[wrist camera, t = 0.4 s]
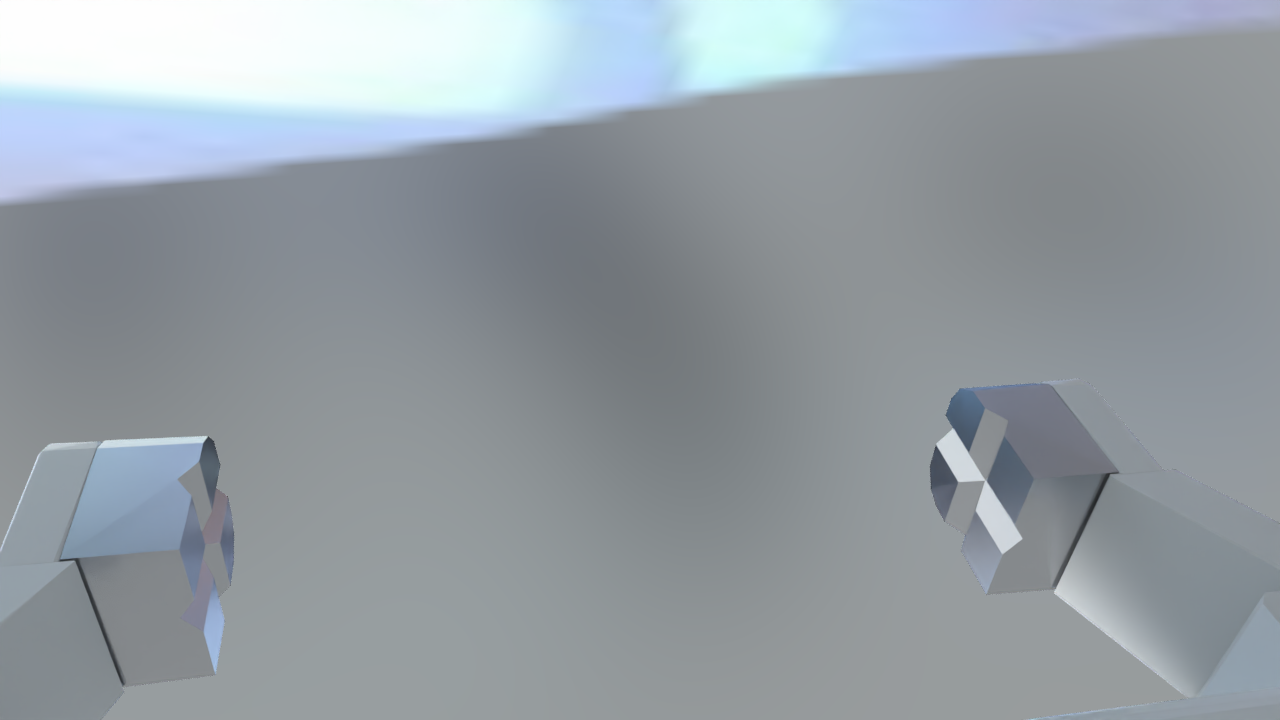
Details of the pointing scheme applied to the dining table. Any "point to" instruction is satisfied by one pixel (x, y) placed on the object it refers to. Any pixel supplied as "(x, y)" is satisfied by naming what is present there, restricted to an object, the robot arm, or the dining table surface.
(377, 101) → the dining table surface
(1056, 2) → the dining table surface
